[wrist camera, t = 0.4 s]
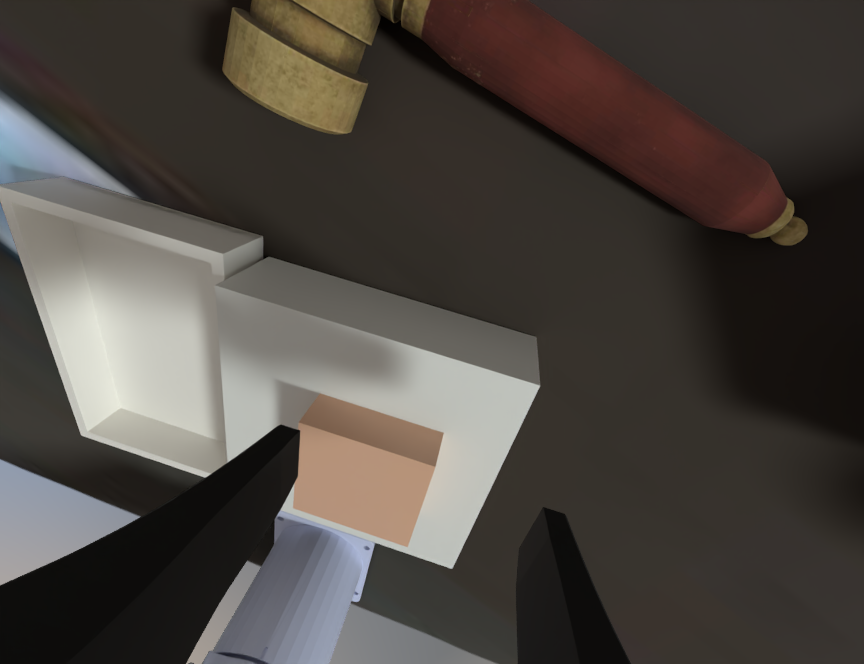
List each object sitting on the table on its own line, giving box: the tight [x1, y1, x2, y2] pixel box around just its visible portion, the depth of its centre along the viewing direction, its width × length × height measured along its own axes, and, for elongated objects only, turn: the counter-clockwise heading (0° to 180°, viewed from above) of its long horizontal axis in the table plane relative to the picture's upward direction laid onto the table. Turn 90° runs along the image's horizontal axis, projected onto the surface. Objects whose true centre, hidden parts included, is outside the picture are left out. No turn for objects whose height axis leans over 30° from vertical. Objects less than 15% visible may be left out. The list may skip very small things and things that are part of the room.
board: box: [215, 257, 540, 569], centre depth 21 cm, size 14×14×4 cm
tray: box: [0, 177, 263, 478], centre depth 22 cm, size 16×11×3 cm
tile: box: [293, 393, 444, 547], centre depth 18 cm, size 6×6×2 cm
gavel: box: [222, 0, 808, 245], centre depth 13 cm, size 21×5×10 cm
